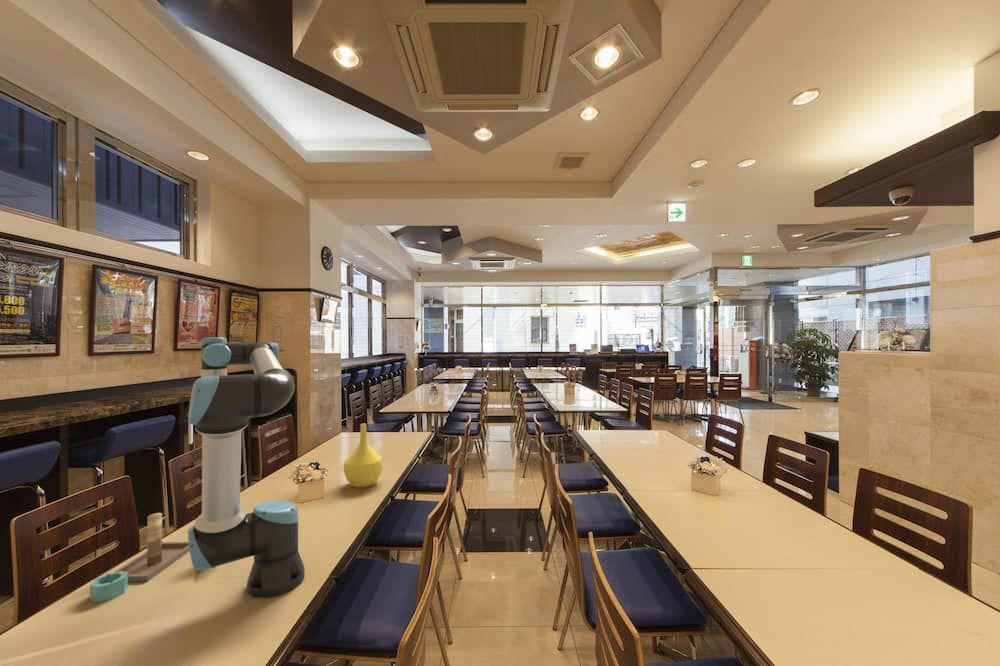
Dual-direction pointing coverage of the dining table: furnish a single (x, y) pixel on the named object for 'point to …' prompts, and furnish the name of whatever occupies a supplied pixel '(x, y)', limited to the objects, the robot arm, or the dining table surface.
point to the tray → (144, 572)
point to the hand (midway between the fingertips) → (214, 441)
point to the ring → (108, 586)
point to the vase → (363, 463)
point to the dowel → (154, 539)
